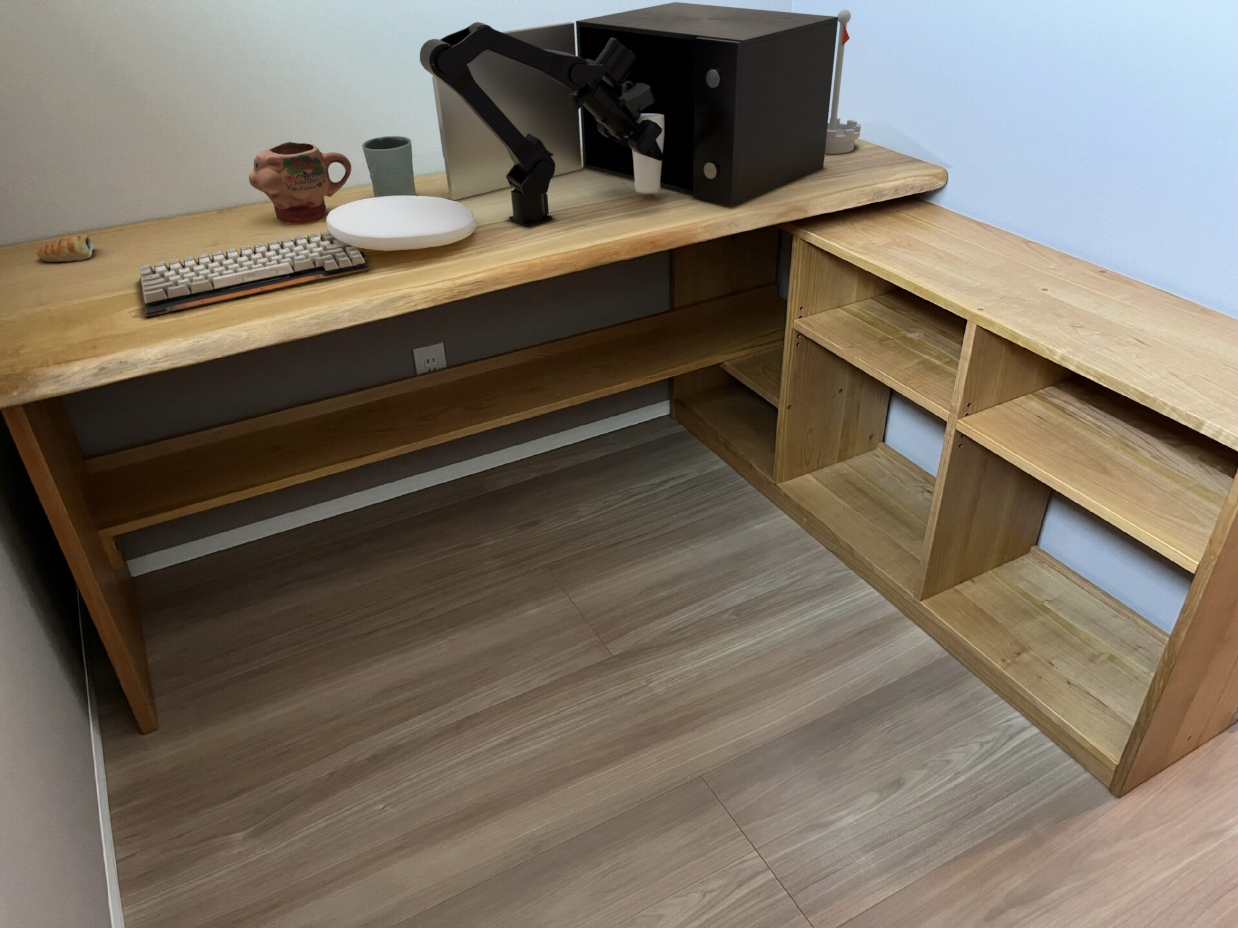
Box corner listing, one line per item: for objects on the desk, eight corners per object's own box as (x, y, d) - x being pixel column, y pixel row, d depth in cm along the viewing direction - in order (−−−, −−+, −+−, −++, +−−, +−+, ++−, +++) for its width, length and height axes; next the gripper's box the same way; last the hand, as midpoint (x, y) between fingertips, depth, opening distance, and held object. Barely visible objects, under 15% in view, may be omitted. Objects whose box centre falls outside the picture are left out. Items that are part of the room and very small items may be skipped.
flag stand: (796, 142, 220) (807, 7, 204) (848, 139, 221) (863, 4, 205) (811, 156, 210) (824, 15, 193) (865, 153, 211) (883, 12, 194)
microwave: (728, 209, 181) (735, 42, 163) (575, 170, 206) (567, 22, 189) (823, 168, 202) (838, 17, 184) (674, 138, 227) (675, 2, 210)
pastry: (36, 266, 165) (28, 247, 163) (43, 254, 171) (36, 235, 169) (92, 259, 168) (84, 239, 166) (97, 247, 173) (90, 228, 171)
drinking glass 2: (641, 187, 191) (642, 113, 184) (669, 190, 187) (670, 114, 181) (625, 193, 186) (624, 116, 179) (653, 196, 182) (653, 117, 176)
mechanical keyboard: (146, 318, 145) (139, 298, 143) (138, 279, 159) (132, 261, 157) (375, 271, 159) (371, 253, 157) (349, 240, 173) (345, 223, 171)
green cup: (404, 189, 198) (395, 133, 191) (429, 199, 192) (420, 141, 185) (363, 200, 193) (352, 143, 186) (387, 210, 186) (377, 151, 180)
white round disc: (419, 183, 184) (505, 212, 170) (419, 215, 188) (504, 246, 173) (296, 196, 165) (381, 230, 150) (298, 231, 168) (382, 267, 154)
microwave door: (437, 193, 195) (415, 39, 177) (564, 163, 211) (556, 19, 194) (453, 200, 190) (431, 43, 173) (581, 169, 206) (574, 23, 189)
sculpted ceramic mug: (351, 199, 193) (338, 133, 185) (365, 215, 184) (352, 146, 176) (256, 216, 186) (238, 147, 178) (265, 233, 177) (247, 162, 169)
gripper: (653, 79, 166) (702, 132, 176) (609, 63, 180) (656, 113, 190) (616, 128, 167) (667, 179, 177) (575, 109, 181) (624, 156, 191)
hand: (654, 155), depth 184 cm, fingers closed on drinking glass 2, 7 cm apart
